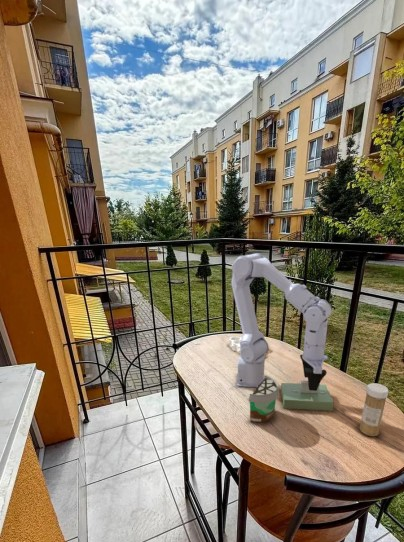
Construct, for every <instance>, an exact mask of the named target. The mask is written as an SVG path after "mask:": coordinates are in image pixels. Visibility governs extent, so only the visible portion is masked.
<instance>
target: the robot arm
mask: <svg viewBox="0 0 404 542" xmlns="http://www.w3.org/2000/svg"><path fill="white" fill-rule="evenodd" d="M231 271H232V276H231V290H232V292H233V298H234V302H235V306H236V310H237V314H238V319H239V324H240V329H241V332H242V336H241V337H242V338H241V341H240V354H239V355H240V357H238V358H237V372H236V379H237V386H238V387H245V388H246V387H247V388H257V387H258V385H259V384H260V383H261V382H262V381H263V380H264V376H265V362H266V358H265V357H266V353H268V351H269V349H270V347H269V342H268V341H267V340H266V338H265V335H264V333H263V332H261V331H260V329H259V325H258V321H257V316H256V312H255V311H256V310H255V307H254V303H253V297H252V292H251V289H250V285H251V283H252V282H253V280H255V278H263V279H265V280H267V281H268V282H269V283H270V284H272V285H273V286H275V287H276V288H277V289H279V290H280V291H281V292H283V293H284V298H285V300H286V301H287V302H288V303H289V304H290V305H292V307H294V308H296V309H297V311H300V313H301V314H302V315H303V319H304V321H305V329H304V339H303V341H304V342H303V352H302V354H300V355H299V357H300V360H301V362H302V369H303V376H304V378H307V381H308V387H309V390H311V391H317V389H318V386H319V384H320V385H321V382H322V380H323V379H324V377H326V376H327V370H326V369H323V364H324V361H328V360H329V357H328V355H326V354H325V349H326V342H327V333H328V332H327V331H328V323H329V322H328V321H329V320H328V319H329V318H330V316H331V314H332V312H333V311H332V310H333V309H332V305H331V304H330V303H329V302H328V300H325V299H321V298H320V297H319V296H315V295H314V294H313V293H312V292H310V290H308V289H307V288H308V286H306V285H305V284H301V283H293V282H292V281H291V280H289V279H288V277H286V276H285V275H284V274H283V273H282V272H280V270H278V269H277V267H275V265H273V264H272V263H271V261H270V260H269V259H268V258H267V257H264V256H263V254H261V253H258V252H255V253H252V254H247V255H239V256H237V257H236V258H235V260H234V262H233V263H232V264H231Z"/></svg>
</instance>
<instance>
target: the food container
mask: <svg viewBox="0 0 404 542" xmlns="http://www.w3.org/2000/svg"><path fill="white" fill-rule="evenodd" d="M277 382H278V381H276V380H275V379H274V378H272V377H270V376H268V375H264V380H263V381H262V382H261V383H260V384H259V385H258V387H255V389H254V391H253V392H252V393H249V395H248V402H249V414H250V415H249V417H250V419H249V421H250V423H252V424H259V425H261V424H267V423H269V422H271V421H273V419H274V418H275V417H274V416H275V410H276V403H277V398H278V397H279V396H280V388H279V387H280V386H279V384H278V383H277Z"/></svg>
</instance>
